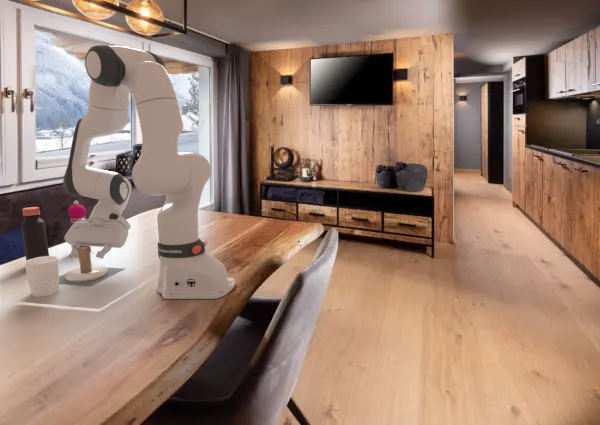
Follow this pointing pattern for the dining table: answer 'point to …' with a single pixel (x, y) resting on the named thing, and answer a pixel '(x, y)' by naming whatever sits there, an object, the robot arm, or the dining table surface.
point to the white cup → (43, 275)
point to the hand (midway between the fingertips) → (86, 257)
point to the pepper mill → (77, 214)
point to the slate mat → (90, 283)
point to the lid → (85, 268)
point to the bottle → (34, 234)
